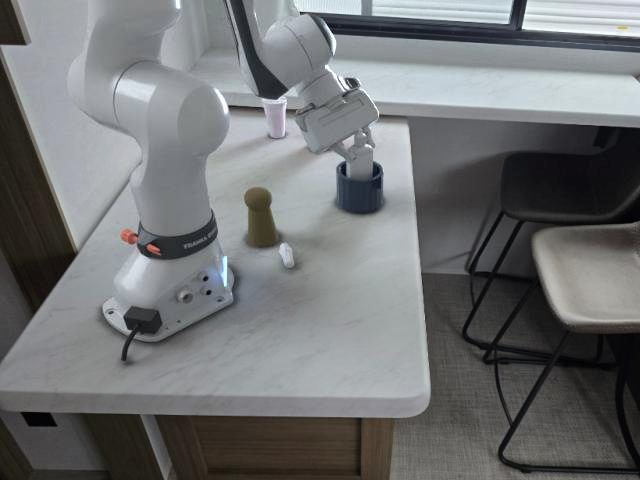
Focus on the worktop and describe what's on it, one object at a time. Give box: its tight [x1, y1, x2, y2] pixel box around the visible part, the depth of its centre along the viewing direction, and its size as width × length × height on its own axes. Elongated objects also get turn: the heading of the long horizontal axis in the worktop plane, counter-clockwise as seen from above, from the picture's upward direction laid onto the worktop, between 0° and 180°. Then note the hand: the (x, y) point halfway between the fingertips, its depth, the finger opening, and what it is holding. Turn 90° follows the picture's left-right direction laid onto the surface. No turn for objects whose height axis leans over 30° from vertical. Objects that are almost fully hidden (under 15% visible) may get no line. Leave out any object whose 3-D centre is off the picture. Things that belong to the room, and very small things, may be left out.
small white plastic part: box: [278, 242, 295, 269], centre depth 106 cm, size 4×6×3 cm, turn 175°
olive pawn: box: [243, 186, 279, 248], centre depth 109 cm, size 6×6×11 cm
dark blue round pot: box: [335, 160, 385, 215], centre depth 122 cm, size 10×10×8 cm
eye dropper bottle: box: [347, 128, 374, 180], centre depth 117 cm, size 4×6×12 cm
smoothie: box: [261, 95, 288, 139], centre depth 143 cm, size 6×6×14 cm
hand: (362, 155), depth 117 cm, fingers closed on eye dropper bottle, 5 cm apart
